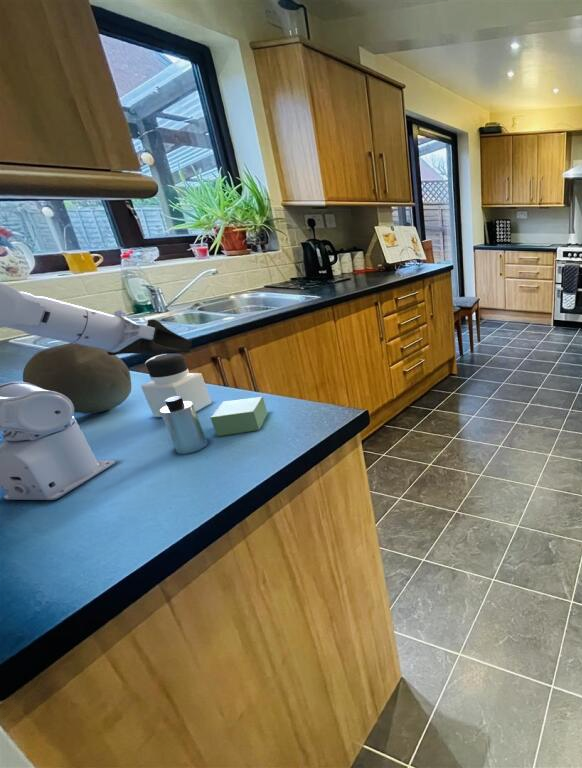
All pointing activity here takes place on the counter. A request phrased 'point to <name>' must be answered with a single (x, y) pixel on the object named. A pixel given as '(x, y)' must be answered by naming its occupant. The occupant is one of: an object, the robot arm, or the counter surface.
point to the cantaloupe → (81, 376)
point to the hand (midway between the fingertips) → (176, 348)
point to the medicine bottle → (173, 383)
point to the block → (239, 416)
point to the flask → (183, 425)
